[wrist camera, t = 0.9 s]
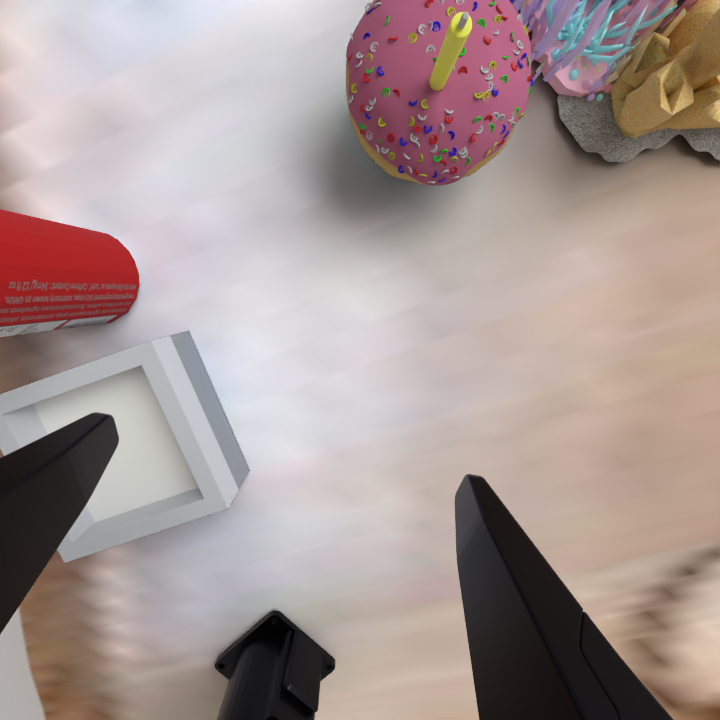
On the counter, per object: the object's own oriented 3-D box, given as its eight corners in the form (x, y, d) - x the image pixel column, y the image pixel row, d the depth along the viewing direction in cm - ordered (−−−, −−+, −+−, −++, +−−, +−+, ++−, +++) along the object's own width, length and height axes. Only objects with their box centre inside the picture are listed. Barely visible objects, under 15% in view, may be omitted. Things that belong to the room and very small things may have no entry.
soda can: (110, 213, 22) (-163, 128, 10) (161, 297, 23) (-38, 304, 11) (32, 257, 23) (-316, 223, 11) (85, 338, 24) (-183, 386, 12)
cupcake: (458, 225, 23) (572, 155, 11) (325, 173, 22) (292, 40, 10) (516, 75, 21) (718, -190, 10) (375, 15, 21) (405, -352, 9)
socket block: (249, 470, 25) (228, 508, 21) (114, 516, 26) (64, 562, 21) (189, 330, 24) (151, 340, 19) (44, 382, 24) (-26, 403, 20)
